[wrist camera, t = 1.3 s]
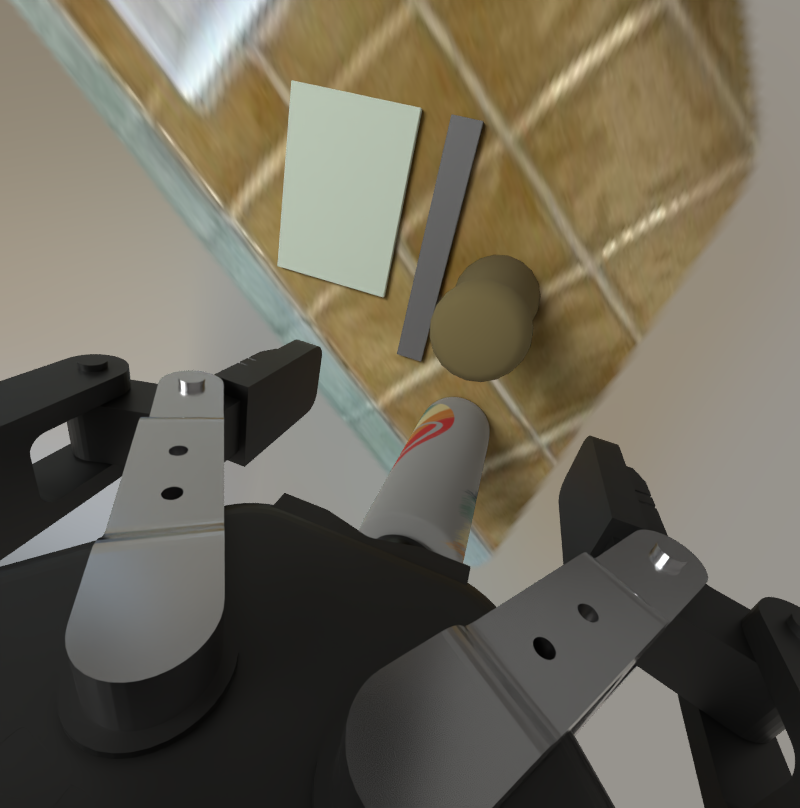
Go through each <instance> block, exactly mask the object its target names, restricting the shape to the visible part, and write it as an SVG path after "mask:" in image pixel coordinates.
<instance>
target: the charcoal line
mask: <svg viewBox="0 0 800 808" xmlns="http://www.w3.org/2000/svg"><path fill="white" fill-rule="evenodd" d="M483 124H484V122H483V121H480V120H475V119H470V118H466V117H461V116H456V115H451V119H450V124H449V128H448V132H447V137H446V141H445V145H444V150H443V154H442V159H441V163H440V167H439V172H438V176H437V181H436V185H435V189H434V194H433V198H432V202H431V207H430V211H429V216H428V220H427V224H426V229H425V233H424V238H423V242H422V246H421V251H420V255H419V259H418V264H417V268H416V273H415V277H414V281H413V286H412V290H411V295H410V299H409V303H408V308H407V312H406V316H405V321H404V325H403V330H402V334H401V338H400V343H399V347H398V352H397V354H399V355H402V356H405V357H408V358H411V359H414V360H417V361H422V358H423V354H424V350H425V347H426V343H427V339H428V335H429V331H430V323H431V318H432V315H433V313H434V310H435V308H436V304H437V301H438V297H439V293H440V289H441V285H442V281H443V277H444V274H445V270H446V266H447V262H448V258H449V254H450V251H451V247H452V243H453V239H454V235H455V231H456V228H457V224H458V220H459V216H460V212H461V208H462V204H463V201H464V197H465V193H466V189H467V185H468V181H469V178H470V174H471V170H472V166H473V162H474V158H475V155H476V151H477V147H478V143H479V139H480V135H481V131H482V128H483Z"/></svg>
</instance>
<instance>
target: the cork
mask: <svg viewBox="0 0 800 808" xmlns="http://www.w3.org/2000/svg"><path fill="white" fill-rule="evenodd" d="M539 301H540V292H539V285H538V282H537V280H536V278H535V276H534V274H533V272H532V271H531V270H530V269H529V268H528V267H527V266H526V265H525V264H524V263H523V262H521V261H520V260H517V259H515V258H512V257H510V256H505V255H492V256H488V257H484V258H481V259H479V260H477V261H476V262H474V263H473V264H471V265H470V266H468V267H467V268H466V270H465V271H464V272H463V273H462V275H461V276H460V277H459V279H458V282H457V284H456V287H455V288H453V289H452V290H450V291H449V292H447V293H446V294H445V296H444V297H443V298H442V299H441V300H440V302H439V303H438V304H437V305H436V308H435V310H434V313H433V315H432V318H431V323H430V340H431V344H432V348H433V352H434V354H435V355H436V357H437V358H438V360H439V362H440V363H441V365H442V366H444V367H445V368H446V369H447V370H448V371H449V372H451V373H452V374H453V375H456V376H458V377H460V378H462V379H465V380H469V381H477V382H484V381H490V380H496V379H498V378H500V377H502V376H504V375H506V374H508V373H510V372H511V371H512V370H513V369H514V368H515V367H516V366H517V365H518V364H519V363H520V362H522V361H523V359H524V357H525V355H526V354H527V352H528V350H529V348H530V346H531V340H532V334H533V324H532V321H533V319H534V317H535V315H536V313H537V311H538V307H539Z"/></svg>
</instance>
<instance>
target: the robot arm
mask: <svg viewBox="0 0 800 808" xmlns="http://www.w3.org/2000/svg"><path fill="white" fill-rule="evenodd" d="M321 358H322V350H321V348H320V347H319V346H316V345H312V344H309V343H306V342H303V341H300V340H294V341H292V342H290V343H288V344H286V345H284V346H283V347H281V348H279V349H273V350H267V351H262V352H259V353H257V354H255V355H253V356H251V357H249V359H248V358H247V359H245V360H243V361H241V362H240V364H239V363H237V364H235V365H233V366H231V367H229V368H227V369H225V370H223V371H221V372H219V373H216V374H214V375H213V374H210V373H206V372H202V371H179V372H174V373H171V374H168V375H166V376H164V377H162V378H161V379H160V381H159V383H158V384H155V383H148V382H142V381H136V380H130V372H129V364H128V363H127V362H126V361H125V360H123V359H121V358H118V357H115V356H110V355H101V354H99V355H98V354H90V355H81V356H75V357H71V358H67V359H64V360H61V361H58V362H56V363H53V364H50V365H47V366H44V367H41V368H38V369H35V370H32V371H29V372H26V373H23V374H20V375H17V376H14V377H11V378H9V379H6V380H3V381H0V560H2V559H3V558H4V557H6V556H7V555H9V554H10V553H12V552H13V551H15V550H16V549H17V548H19V547H20V546H22V545H23V544H25V543H26V542H28V541H29V540H30V539H32V538H33V537H34V536H36V535H38V534H39V533H40V532H42V531H43V530H45V529H46V528H48V527H49V526H51V525H52V524H53V523H55V522H56V521H58V520H59V519H61V518H62V517H64V516H65V515H67V514H68V513H69V512H71V511H72V510H74V509H75V508H77V507H78V506H80V505H81V504H82V503H84V502H85V501H86V500H88V499H90V498H91V497H92V496H94V495H95V494H97V493H98V492H100V491H101V490H103V489H104V488H105V487H107V486H108V485H110V484H111V483H113V482H114V481H116V480H117V479H118V478H120V477H121V476H122V478H121V481H120V485H119V488H118V491H117V495H116V498H115V501H114V504H113V508H112V511H111V515H110V518H109V521H108V524H107V528H106V531H105V533H104V535H103V536H102V537H101V538H98V539H97V540H96V541H92V542H89V543H85V544H82V545H78V546H74V547H71V548H67V549H64V550H60V551H56V552H52V553H49V554H45V555H41V556H38V557H34V558H30V559H27V560H23V561H20V562H16V563H13V564H9V565H5V566H1V567H0V808H615V806H614V805H613V803H612V801H611V799H610V798H609V796H608V794H607V793H606V791H605V789H604V787H603V785H602V784H601V782H600V780H599V778H598V777H597V775H596V773H595V771H594V770H593V768H592V766H591V764H590V762H589V761H588V759H587V757H586V755H585V754H584V752H583V750H582V749H581V747H580V745H579V743H578V741H577V740H576V738H575V735H576V734H577V733H578V732H579V731H580V730H581V728H582V727H583V726H584V725H585V724H586V722H587V721H588V720H589V719H590V718H591V717H592V716H593V715H594V714H595V712H596V711H597V710H598V709H599V708H600V707H601V706H602V705H603V704H604V702H605V701H606V700H607V699H608V698H609V697H610V696H611V695H612V694H613V693H614V691H615V690H616V689H617V688H618V687H619V686H620V685H621V684H622V682H623V681H624V680H625V679H626V678H627V677H628V676H629V675H630V674H631V673H632V672H633V670H634V669H635V668H636V667H637V666H638V667H640V668H641V669H642V670H644V671H645V672H647V673H648V674H650V675H651V676H653V677H654V678H656V679H657V680H658V681H660V682H661V683H663V684H664V685H666V686H667V687H668V688H670V689H672V690H673V691H674V692H676V693H677V694H678V698H679V702H680V707H681V711H682V715H683V719H684V723H685V728H686V732H687V736H688V740H689V744H690V748H691V753H692V756H693V761H694V765H695V770H696V774H697V778H698V781H699V786H700V790H701V795H702V798H703V803H704V807H705V808H800V607H798V606H796V605H794V604H792V603H790V602H787V601H785V600H782V599H778V598H774V597H765V598H763V599H761V600H760V601H759V602H758V603H757V604H756V605H755V606H754V607H753V608H752V609H751V610H750V609H748V608H746V607H745V606H743V605H741V604H739V603H737V602H736V601H734V600H732V599H730V598H729V597H727V596H725V595H723V594H722V593H720V592H718V591H716V590H714V589H713V588H711V587H710V586H708V585H707V584H706V582H707V580H708V575H707V572H706V569H705V568H704V566H703V565H702V563H701V562H700V561H699V559H698V558H697V557H696V556H695V555H694V554H693V553H692V552H691V551H690V550H688V549H687V548H686V547H685V546H683V545H682V544H680V543H679V542H677V541H676V540H674V539H672V538H670V537H668V535H667V533H666V530H665V528H664V526H663V523H662V521H661V518H660V516H659V513H658V511H657V509H656V508H655V504H654V501H653V499H652V498H651V497H650V496H651V494H650V491H649V490H648V487H647V485H646V482H645V481H644V480H643V479H642V478H641V477H640V475H639V474H638V473H637V472H636V471H635V470H634V469H633V468H630V467H627V466H626V464H625V461H624V459H623V456H622V453H621V450H620V447H619V446H618V445H617V444H614V443H611V442H608V441H605V440H602V439H599V438H596V437H592V436H588V437H587V438H586V439H585V441H584V442H583V444H582V446H581V448H580V450H579V452H578V454H577V456H576V458H575V460H574V462H573V464H572V466H571V468H570V470H569V472H568V473H567V475H566V477H565V479H564V482H563V484H562V487H561V490H560V495H559V512H560V525H561V537H562V550H563V564H564V565H563V566H561V567H559V568H558V569H556V570H555V571H553V572H552V573H550V574H548V575H547V576H545V577H544V578H542V579H541V580H539V581H538V582H536V583H534V584H533V585H531V586H530V587H528V588H526V589H525V590H524V591H522V592H520V593H519V594H517V595H515V596H514V597H512V598H511V599H509V600H508V601H506V602H505V603H503V604H501V605H500V606H498V607H496V606H495V605H494V604H493V603H492V602H491V601H490V600H489V599H488V598H487V597H486V596H484V595H483V594H482V593H481V592H480V591H478V590H477V589H476V588H475V587H473V586H472V585H470V584H469V583H467V582H468V577H469V572H470V566H468V565H465V564H463V563H460V562H458V561H455V560H453V559H450V558H448V557H445V556H443V555H440V554H438V553H435V552H432V551H430V550H427V549H425V548H422V547H417V546H412V545H406V544H401V543H396V542H390V541H385V540H379V539H374V538H371V537H368V536H366V535H364V534H363V533H361V532H360V531H358V530H357V529H355V528H354V527H352V526H351V525H349V524H348V523H346V522H345V521H343V520H342V519H340V518H339V517H337V516H336V515H334V514H333V513H331V512H330V511H328V510H326V509H324V508H321V507H319V506H316V505H314V504H311V503H309V502H306V501H303V500H301V499H299V498H296V497H294V496H291V495H289V494H286V493H284V494H283V495H282V496H281V498H280V499H279V500H278V501H277V502H276V503H275V504H274V505H270V504H259V503H242V504H233V505H226V506H224V462H225V461H226V460H229V461H231V462H234V463H236V464H239V465H241V466H244V467H245V466H246V465H247V464H248V463H249V462H251V461H252V460H253V459H254V458H255V457H256V456H257V455H258V454H260V453H261V452H262V451H263V450H264V449H266V448H267V447H268V446H269V445H270V444H271V443H273V442H274V441H275V440H276V439H277V438H278V437H280V436H281V435H282V434H283V433H284V432H285V431H286V430H288V429H289V428H290V427H291V426H292V425H294V424H295V423H296V422H297V421H298V420H299V419H300V418H302V417H303V416H304V415H305V414H306V413H307V412H308V411H309V410H310V409H311V407H312V406H313V404H314V401H315V398H316V394H317V388H318V380H319V373H320V366H321ZM65 422H67V425H68V431H69V436H70V441H71V444H69V445H67V446H65V447H63V448H62V449H60V450H58V451H56V452H54V453H52V454H50V455H49V456H47V457H45V458H43V459H41V460H39V461H37V462H36V463H34V464H32V462H31V458H30V449H31V446H32V444H33V443H34V441H35V440H36V439H37V438H38V437H39V436H40V435H41V434H43V433H44V432H46V431H48V430H50V429H52V428H55V427H57V426H59V425H61V424H63V423H65ZM784 729H786V731H787V733H788V735H789V738H790V740H791V743H792V745H793V749H794V753H795V769H794V773H793V775H792V776H791V773H790V771H789V768H788V766H787V763H786V761H785V758H784V756H783V754H782V751H781V749H780V746H779V744H778V742H777V739H776V736H777V735H778V734H780V733H781V732H782V731H783V730H784Z"/></svg>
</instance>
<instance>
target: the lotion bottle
mask: <svg viewBox="0 0 800 808" xmlns="http://www.w3.org/2000/svg"><path fill="white" fill-rule="evenodd" d="M489 431H490V430H489V423H488V420H487V418H486V416H485V414H484V413H483V411H482V410H481V409H480V408H479V407H478V406H477V405H475V404H474V403H472V402H471V401H469V400H466V399H463V398H458V397H448V398H443V399H440V400H438V401H436V402H435V403H433V404H432V405H431V406H430V407H429V408H428V409H427V410H426V411H425V413H424V414H423V416H422V418H421V419H420V421H419V423H418V424H417V426H416V428H415V430H414V431H413V433H412V435H411V437H410V438H409V440H408V442H407V444H406V445H405V447H404V449H403V451H402V453H401V454H400V456H399V458H398V460H397V461H396V463H395V465H394V467H393V468H392V470H391V472H390V474H389V475H388V477H387V479H386V481H385V482H384V484H383V486H382V488H381V489H380V491H379V493H378V495H377V496H376V498H375V500H374V502H373V504H372V505H371V507H370V509H369V511H368V512H367V514H366V516H365V518H364V520H363V522H362V524H361V526H360V528H359V530H358V531H360V532H361V533H363V534H364V535H366V536H368V537H371V538H374V539H379V540H385V541H390V542H396V543H401V544H406V545H412V546H417V547H422V548H425V549H427V550H430V551H432V552H435V553H438V554H440V555H443V556H445V557H448V558H450V559H453V560H455V561H458V562H460V563H463V560H464V556H465V551H466V547H467V542H468V537H469V533H470V528H471V523H472V518H473V514H474V509H475V504H476V499H477V494H478V490H479V485H480V480H481V475H482V471H483V466H484V461H485V456H486V452H487V447H488V441H489Z"/></svg>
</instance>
